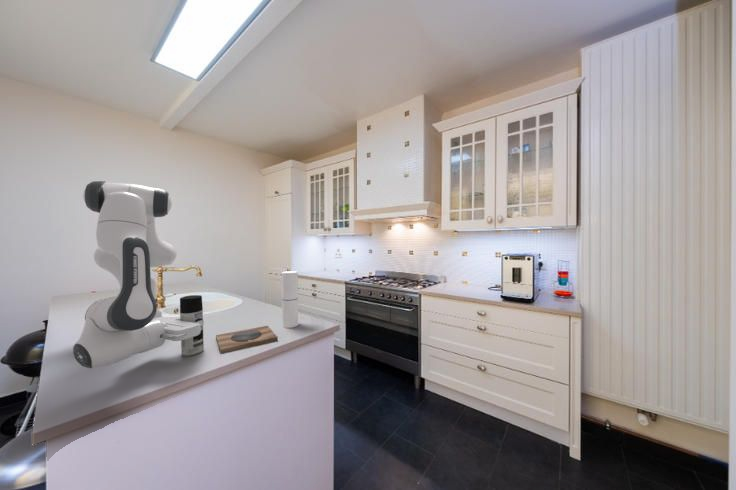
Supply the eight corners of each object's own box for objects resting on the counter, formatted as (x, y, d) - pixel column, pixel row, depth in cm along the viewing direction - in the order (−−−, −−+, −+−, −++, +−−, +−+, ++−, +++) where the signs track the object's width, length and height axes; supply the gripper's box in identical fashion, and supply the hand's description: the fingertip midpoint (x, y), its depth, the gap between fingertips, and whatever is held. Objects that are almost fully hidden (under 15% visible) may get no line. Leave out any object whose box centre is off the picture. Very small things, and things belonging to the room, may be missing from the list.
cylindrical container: (279, 327, 118) (278, 272, 117) (286, 322, 125) (286, 270, 124) (294, 328, 117) (293, 273, 116) (300, 323, 124) (300, 271, 123)
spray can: (195, 356, 89) (194, 299, 89) (176, 356, 89) (174, 299, 89) (207, 348, 96) (206, 294, 95) (189, 348, 96) (188, 294, 96)
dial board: (216, 338, 105) (216, 334, 105) (267, 328, 116) (267, 324, 116) (220, 353, 92) (220, 348, 92) (277, 340, 103) (277, 336, 103)
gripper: (173, 328, 77) (215, 315, 90) (130, 320, 84) (175, 309, 97) (173, 349, 77) (215, 333, 90) (131, 340, 84) (175, 326, 97)
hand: (194, 320), depth 93 cm, fingers closed on spray can, 7 cm apart
